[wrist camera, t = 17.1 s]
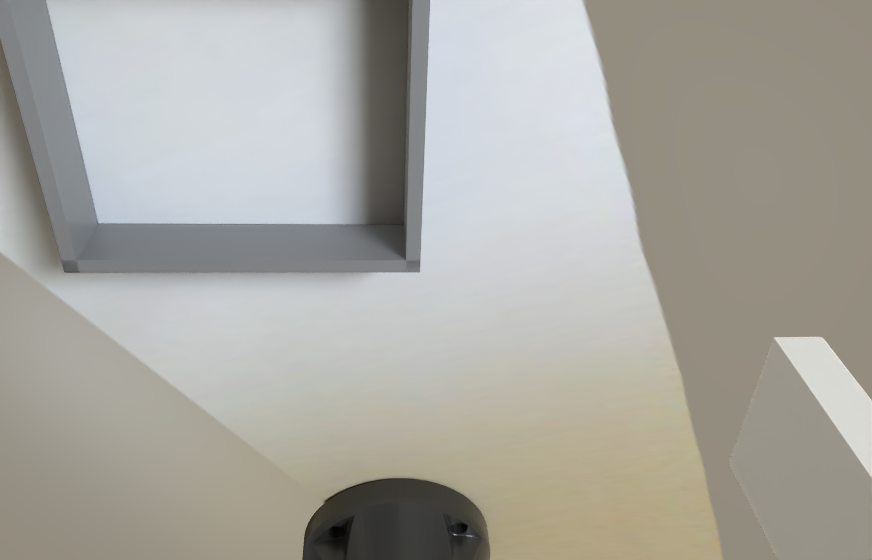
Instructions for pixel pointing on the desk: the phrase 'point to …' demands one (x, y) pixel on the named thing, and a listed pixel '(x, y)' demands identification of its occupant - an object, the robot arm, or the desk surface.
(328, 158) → the desk surface
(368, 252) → the parts bin
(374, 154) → the desk surface
